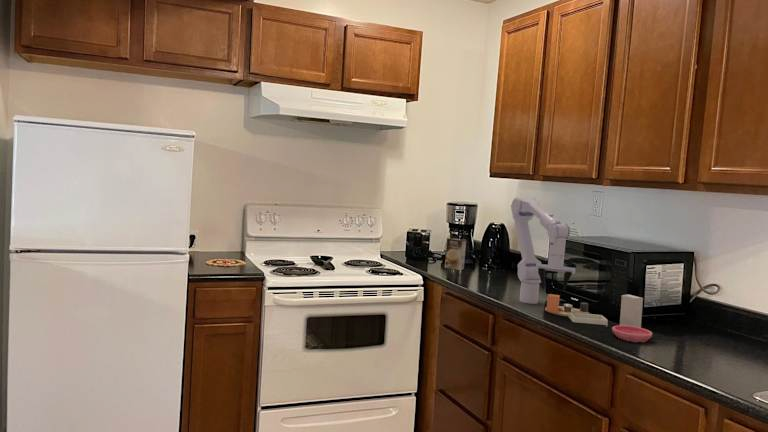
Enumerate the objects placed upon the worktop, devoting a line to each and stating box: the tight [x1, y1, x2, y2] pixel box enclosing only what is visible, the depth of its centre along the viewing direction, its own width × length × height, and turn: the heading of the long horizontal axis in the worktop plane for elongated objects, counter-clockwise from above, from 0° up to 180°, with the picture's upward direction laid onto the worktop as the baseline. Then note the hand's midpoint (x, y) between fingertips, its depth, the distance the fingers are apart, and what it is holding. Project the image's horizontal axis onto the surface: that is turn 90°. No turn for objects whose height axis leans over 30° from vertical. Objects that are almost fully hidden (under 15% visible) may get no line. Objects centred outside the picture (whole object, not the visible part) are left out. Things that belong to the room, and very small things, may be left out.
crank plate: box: [544, 305, 591, 317], centre depth 228 cm, size 17×17×2 cm
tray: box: [567, 312, 609, 328], centre depth 215 cm, size 8×12×2 cm, turn 84°
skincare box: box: [619, 294, 644, 328], centre depth 209 cm, size 6×4×12 cm
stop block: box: [545, 293, 561, 313], centre depth 227 cm, size 4×4×6 cm
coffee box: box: [444, 237, 467, 271], centre depth 318 cm, size 9×6×16 cm
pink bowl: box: [611, 324, 653, 343], centre depth 197 cm, size 12×12×3 cm
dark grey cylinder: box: [558, 302, 589, 314], centre depth 228 cm, size 14×3×4 cm, turn 62°
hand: (553, 289), depth 227 cm, fingers open, 7 cm apart
